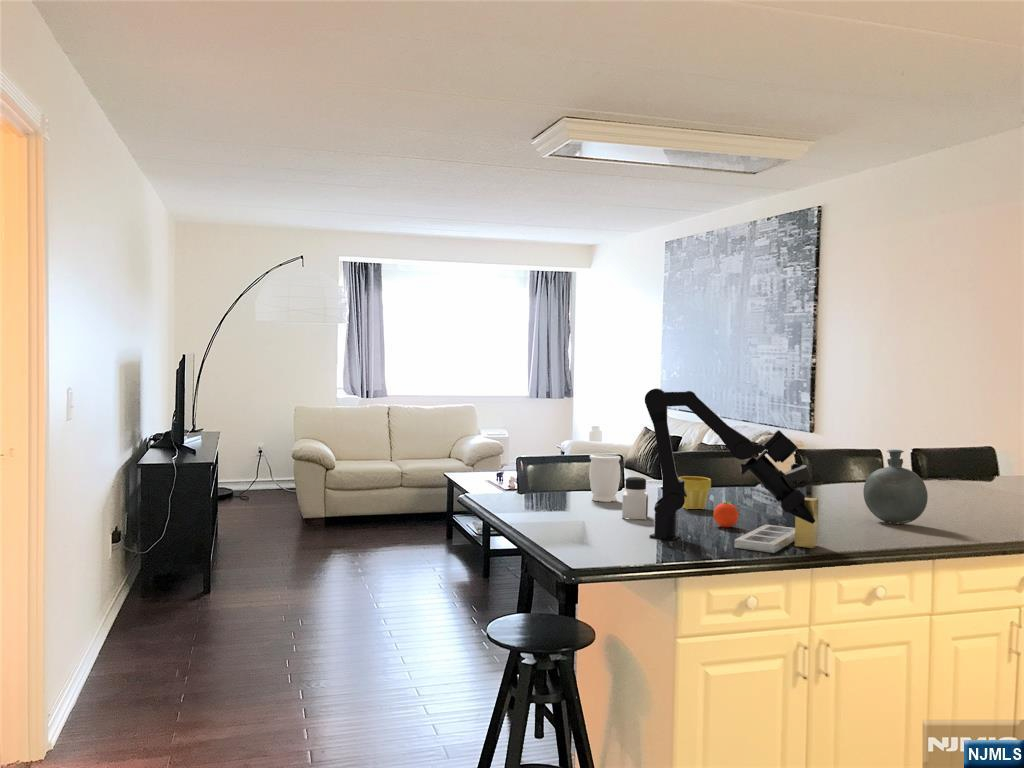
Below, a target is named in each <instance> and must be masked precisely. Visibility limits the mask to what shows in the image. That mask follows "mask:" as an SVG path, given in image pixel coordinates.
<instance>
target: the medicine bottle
mask: <svg viewBox="0 0 1024 768" xmlns="http://www.w3.org/2000/svg"><path fill="white" fill-rule="evenodd" d="M646 491H647V480H646V478H644V477H641V476H629V477H626V478H625V491H624V492H623V494H622V502H621V503H622V504H621V505H622V511H621V513H622V514H621V517H622V519H623V518H629V519H628V520H635V519H645V520H644V521H647V520H648V519H647V518H648V512H649V509H648V508H649V505H648V504H649V493H648V492H646Z"/></svg>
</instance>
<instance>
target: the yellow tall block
mask: <svg viewBox="0 0 1024 768" xmlns="http://www.w3.org/2000/svg"><path fill="white" fill-rule="evenodd" d="M804 504H805V506H806V507H807V509H808V510H809V512H810V513H811V515H812V516H813V518H814V519H815V522H814V523H813V524H812V523H810V522H808V521H805V520H803V519H801V518H799V517H797V516H795V515H794V519H795V521H794V522H795V523H794V528H795V541H794V547H802V548H809V549H814V548H815V547H818V531H819V530H818V525H819V524H818V523H819V498H814V497H805V502H804Z"/></svg>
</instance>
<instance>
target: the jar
mask: <svg viewBox="0 0 1024 768" xmlns="http://www.w3.org/2000/svg"><path fill="white" fill-rule="evenodd" d="M589 459H590V460H591V461H590V464H589V470H588V476H589V477H588V478H589V484H590V485H589V486H590V490H591V493H592V494H593V495H592V497H591V501H595V502H598V501H599V502H600V503H612V502H611V501H614V502H616V501H617V500H618V498H617V497H616V495H617V494H618V491H619V485H620V480H621V465H620V461H621V456H620V455H615V454H605V453H604V454H600V453H599V454H590V455H589Z"/></svg>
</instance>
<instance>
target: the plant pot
mask: <svg viewBox="0 0 1024 768" xmlns="http://www.w3.org/2000/svg"><path fill="white" fill-rule="evenodd" d="M678 478H679V480H681V479H684V486H685V490H686V492H687V497H685V502H684V505H683V506H682V508H683V509H684V508H685V509H684V510H688V509H703V510H704V509H705V507H706V503H707V500H708V499H707V498H708V494H709V491H711V488H712V479H711V478H709V477H704V476H694V475H693V476H692V475H691V476H690V475H683V476H678Z"/></svg>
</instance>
